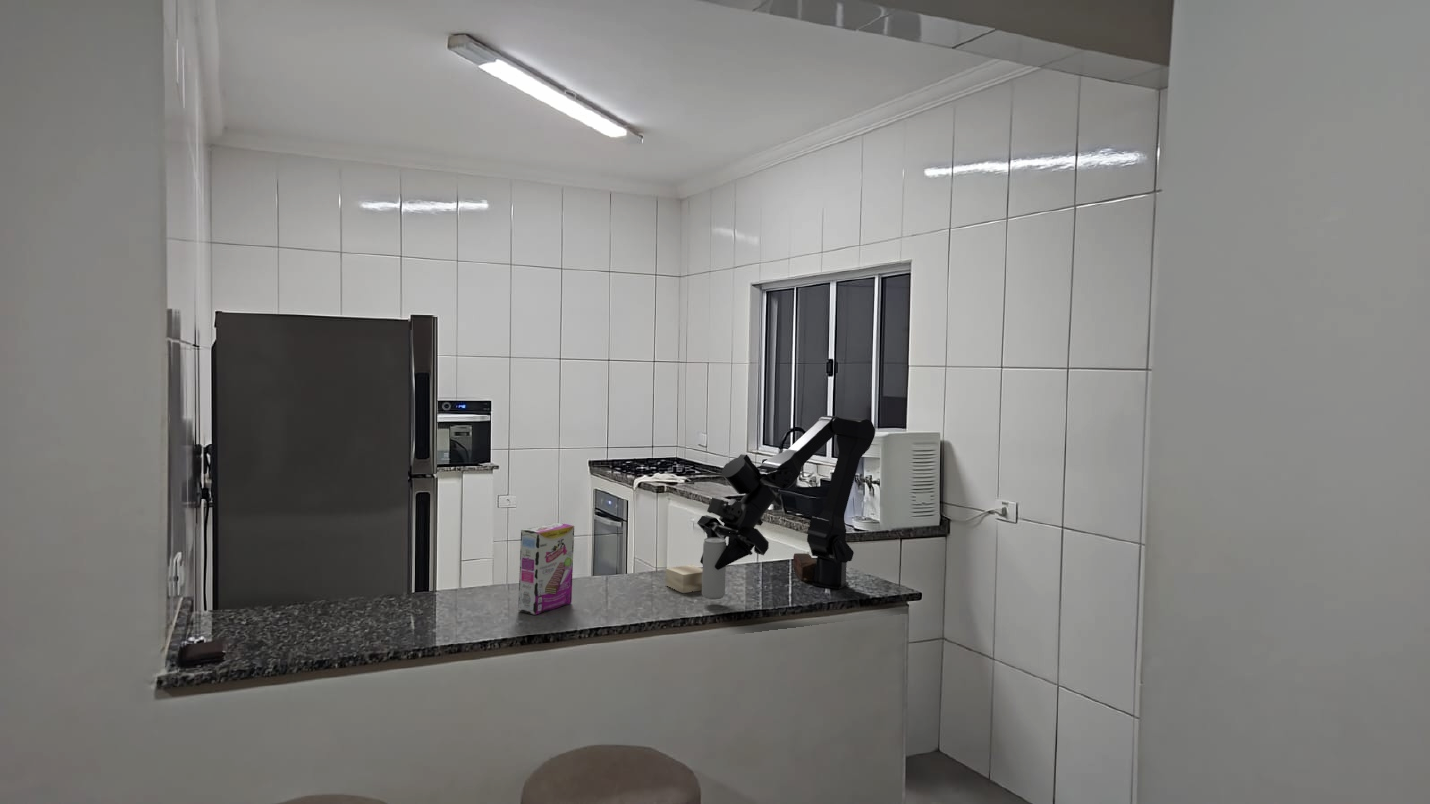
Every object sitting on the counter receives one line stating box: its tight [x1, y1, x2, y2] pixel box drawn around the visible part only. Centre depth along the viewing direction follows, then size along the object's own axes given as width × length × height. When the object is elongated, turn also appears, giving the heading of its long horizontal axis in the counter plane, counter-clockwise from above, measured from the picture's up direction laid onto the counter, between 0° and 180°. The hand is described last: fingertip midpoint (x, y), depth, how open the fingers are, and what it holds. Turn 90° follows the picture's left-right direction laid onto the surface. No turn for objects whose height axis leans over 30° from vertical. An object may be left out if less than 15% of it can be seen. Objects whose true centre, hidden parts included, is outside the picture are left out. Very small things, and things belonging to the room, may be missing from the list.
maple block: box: [665, 564, 703, 594], centre depth 197 cm, size 7×7×4 cm
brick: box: [792, 552, 816, 583], centre depth 211 cm, size 11×4×5 cm, turn 7°
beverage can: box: [701, 537, 727, 600], centre depth 184 cm, size 5×5×12 cm
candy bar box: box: [517, 522, 575, 616], centre depth 178 cm, size 11×5×16 cm, turn 149°
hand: (708, 566), depth 183 cm, fingers closed on beverage can, 5 cm apart
